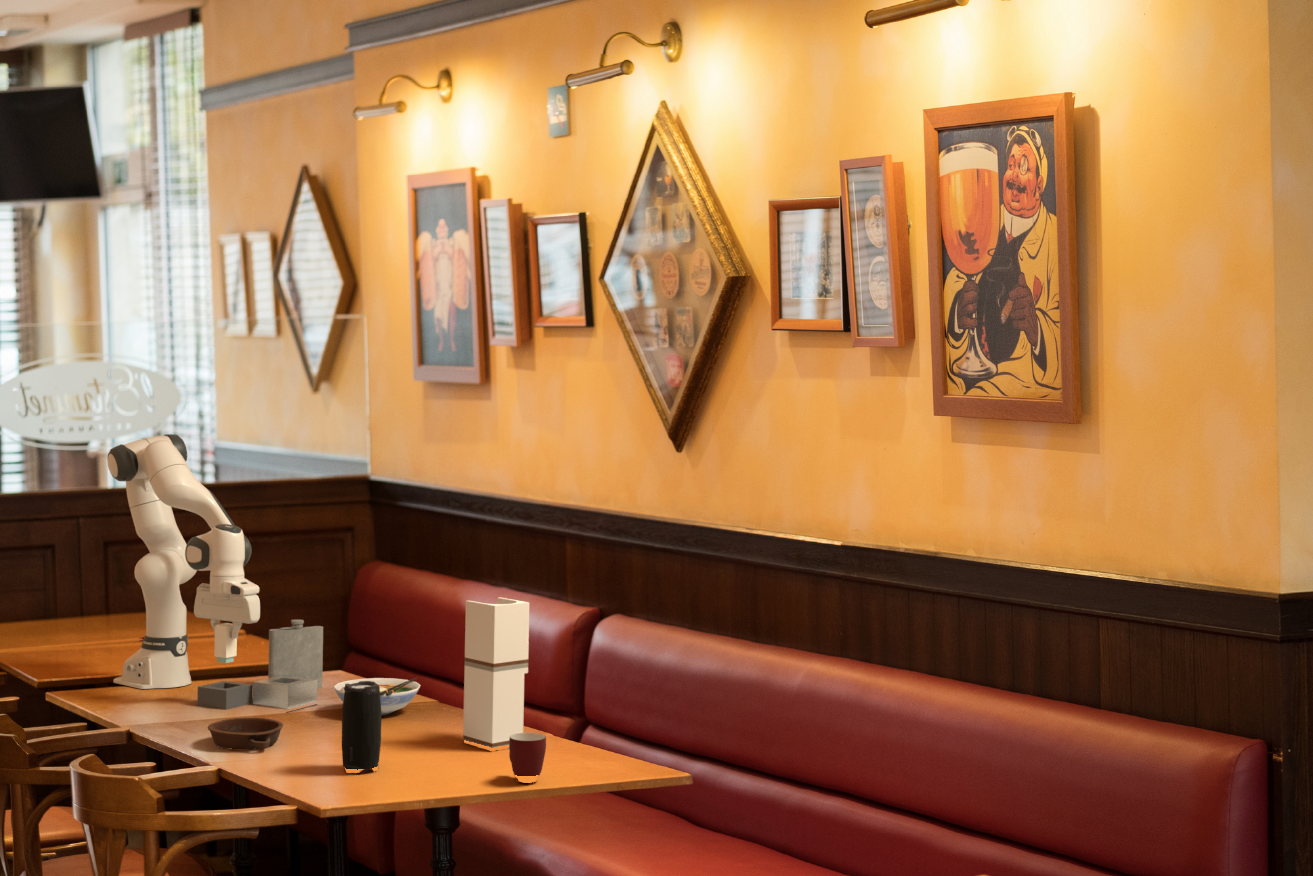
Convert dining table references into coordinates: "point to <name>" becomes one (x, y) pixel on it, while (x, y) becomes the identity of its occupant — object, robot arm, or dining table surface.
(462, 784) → the dining table surface
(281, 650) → the hip flask
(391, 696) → the ramen bowl
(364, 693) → the portable speaker
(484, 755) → the dining table surface
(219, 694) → the grey square socket block
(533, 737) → the mug
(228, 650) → the plug
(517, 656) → the banded cream pillar
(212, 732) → the dish
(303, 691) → the port box
